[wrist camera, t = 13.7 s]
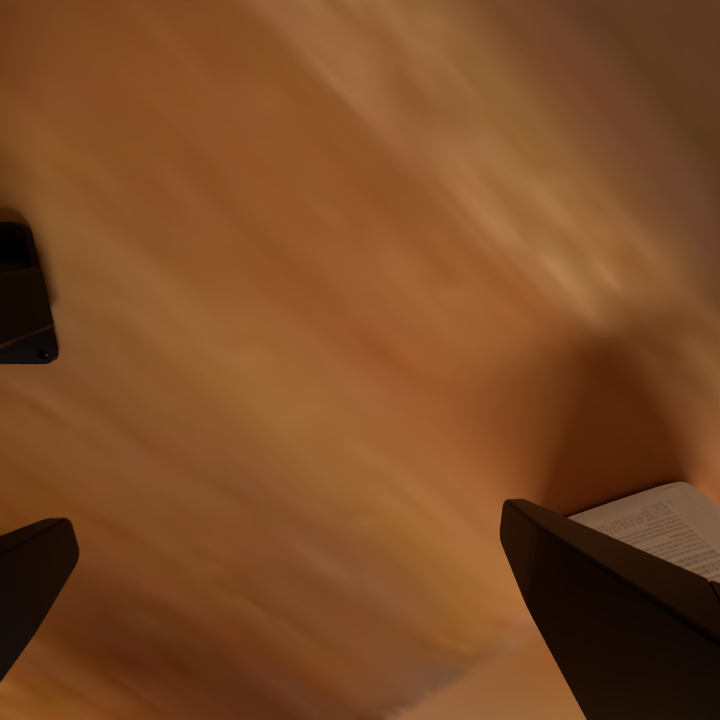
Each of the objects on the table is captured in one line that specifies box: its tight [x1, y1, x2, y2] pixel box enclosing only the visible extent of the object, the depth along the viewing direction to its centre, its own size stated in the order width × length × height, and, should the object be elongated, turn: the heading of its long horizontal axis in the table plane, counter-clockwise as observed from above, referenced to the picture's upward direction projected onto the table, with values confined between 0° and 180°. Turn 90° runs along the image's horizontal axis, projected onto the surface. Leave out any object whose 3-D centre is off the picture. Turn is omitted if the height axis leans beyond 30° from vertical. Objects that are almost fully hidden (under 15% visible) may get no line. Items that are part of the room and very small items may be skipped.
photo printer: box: [567, 482, 720, 583], centre depth 20 cm, size 10×4×12 cm, turn 112°
